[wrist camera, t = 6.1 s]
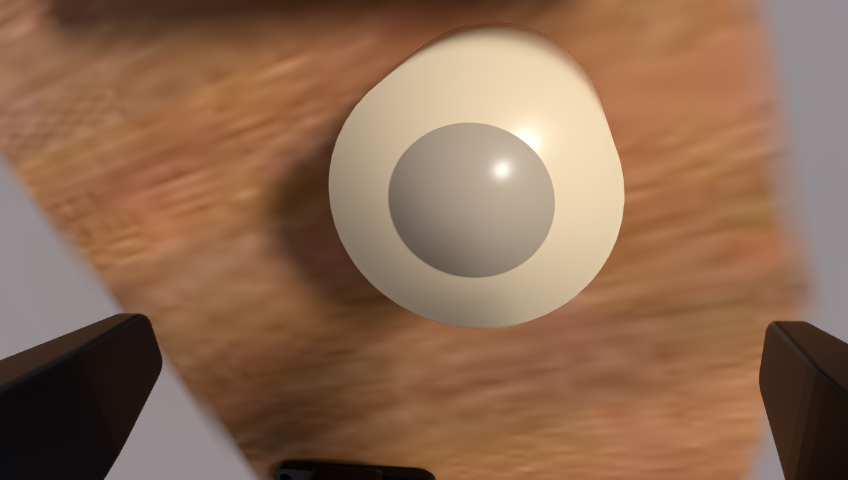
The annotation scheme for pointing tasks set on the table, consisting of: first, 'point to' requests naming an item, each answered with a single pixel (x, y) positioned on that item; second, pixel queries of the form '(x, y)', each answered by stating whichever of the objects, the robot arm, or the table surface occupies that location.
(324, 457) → the table surface
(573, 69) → the cream dome knob
